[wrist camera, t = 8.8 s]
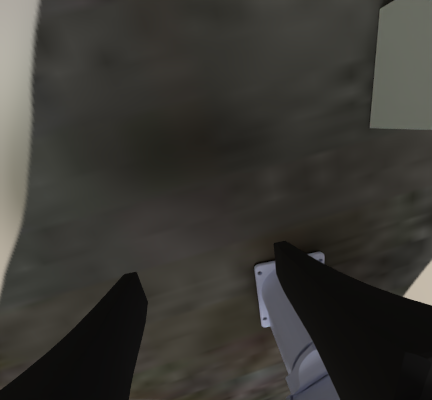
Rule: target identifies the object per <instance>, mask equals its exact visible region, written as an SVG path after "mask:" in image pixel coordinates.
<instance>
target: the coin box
mask: <svg viewBox="0 0 432 400" xmlns="http://www.w3.org/2000/svg"><path fill="white" fill-rule="evenodd" d="M370 128H385V129H420V130H432V0H394V1H392V2H391V3H389V4H387V5H386V6H384V7H382V8H381V9H380V13H379V24H378V36H377V48H376V59H375V71H374V82H373V94H372V105H371V117H370Z"/></svg>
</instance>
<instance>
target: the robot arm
mask: <svg viewBox="0 0 432 400" xmlns="http://www.w3.org/2000/svg"><path fill="white" fill-rule="evenodd" d="M274 252H275V261H271V262H266V263H261V264H257V265H256V266H255V267H254V271H255V279H256V287H257V295H258V303H259V311H260V319H261V324H262V326H263V327H270V326H271V329H272V332H273V334H274V337H275V340H276V342H277V345H278V348H279V350H280V353H281V356H282V358H283V361H284V363H285V366H286V369H287V371H288V374H289V375H288V376H287V377H286V381H287V383H288V386H289V389H290V392H291V394H290V395H289V396H287V398H286V399H285V400H432V306H431V305H428V304H424V303H421V302H418V301H414V300H411V299H407V298H405V297H402V296H398V295H395V294H392V293H390V292H387V291H384V290H381V289H379V288H376V287H373V286H371V285H368V284H366V283H363V282H361V281H359V280H356V279H354V278H352V277H349V276H347V275H345V274H343V273H341V272H339V271H337V270H335V269H333V268H331V267H329V266H327V265H325V264H324V257H325V256H324V254H323V253H322V252H315V253H310V254H306V253H304V252H303V251H301V250H299V249H298V248H296V247H295V246H293V245H291V244H290V243H288V242H286V241H282V242H277V243H274ZM319 259H320V260H319ZM318 260H319V261H318ZM259 271H261V272H260V273H258V272H259ZM147 305H148V301H147V298H146V296H145V293H144V290H143V288H142V285H141V283H140V280H139V277H138V275H137V272H133V273H128V274H124V275H123V276H122V277H121V278H120V279H119V280H118V282H117V283H116V284H115V285H114V286H113V287H112V288H111V289H110V290H109V292H108V293H107V294H106V295H105V296H104V297H103V298H102V299H101V300H100V302H99V303H98V304H97V305H96V306H95V307H94V308H93V309H92V310H91V311H90V312H89V313H88V314H87V315H86V316H85V317H84V318H83V319H82V320H81V321H80V322H79V323H78V324H77V325H76V327H75V328H74V329H72V330H71V331H70V332H69V333H68V334H67V335H66V336H65V337H64V338H63V339H62V340H61V341H60V342H59V343H57V344H56V345H55V346H54V347H53V348H52V349H51V350H50V351H48V352H47V353H46V354H45V355H44V356H43V357H41V358H40V359H39V360H38V361H37V362H35V363H34V364H33V365H32V366H30V367H29V368H28V369H27V370H26V371H24V372H23V373H22V374H21V375H19V376H18V377H17V378H16V379H14V380H13V381H12V382H11V383H9V384H8V385H7V386H5V387H4V388H3V389H1V390H0V400H129V395H130V388H131V383H132V378H133V373H134V369H135V365H136V360H137V356H138V352H139V348H140V344H141V340H142V336H143V331H144V327H145V322H146V315H147ZM264 317H265V318H264Z"/></svg>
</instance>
